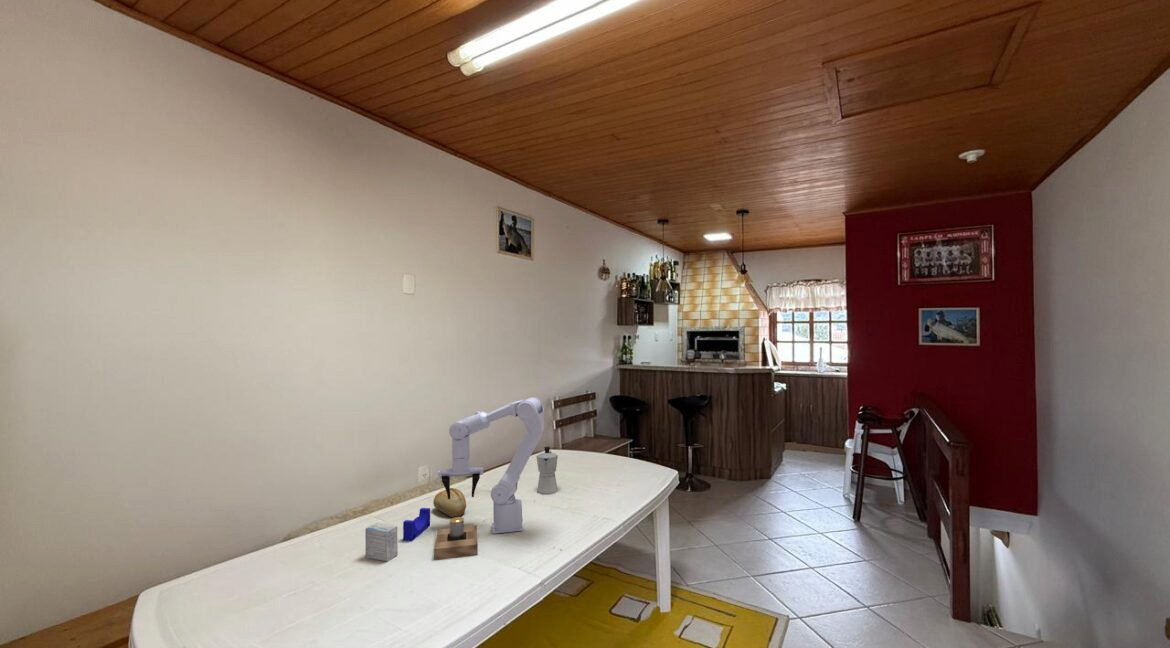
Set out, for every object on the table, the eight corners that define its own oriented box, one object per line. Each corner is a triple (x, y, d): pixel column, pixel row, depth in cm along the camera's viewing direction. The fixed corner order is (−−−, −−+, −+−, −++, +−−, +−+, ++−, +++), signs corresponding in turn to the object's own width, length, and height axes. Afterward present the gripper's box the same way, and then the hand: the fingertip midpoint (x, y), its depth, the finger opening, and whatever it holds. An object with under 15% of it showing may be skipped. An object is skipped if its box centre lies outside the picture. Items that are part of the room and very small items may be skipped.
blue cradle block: (417, 525, 158) (417, 507, 158) (430, 526, 158) (430, 508, 158) (398, 541, 146) (398, 521, 147) (412, 541, 146) (412, 522, 146)
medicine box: (398, 555, 137) (398, 525, 137) (387, 562, 132) (387, 531, 133) (376, 551, 139) (376, 522, 139) (364, 558, 135) (364, 527, 135)
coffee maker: (556, 496, 185) (556, 450, 186) (534, 496, 186) (534, 450, 186) (559, 484, 200) (559, 441, 201) (538, 484, 200) (538, 442, 201)
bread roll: (449, 503, 179) (449, 482, 179) (473, 513, 169) (473, 490, 169) (426, 511, 171) (426, 489, 172) (449, 521, 161) (449, 498, 162)
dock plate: (476, 534, 150) (476, 525, 150) (477, 554, 136) (477, 544, 137) (437, 539, 147) (437, 529, 147) (434, 559, 134) (434, 549, 134)
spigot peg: (462, 542, 145) (462, 516, 145) (464, 547, 141) (464, 520, 141) (449, 544, 143) (449, 518, 143) (450, 550, 140) (450, 523, 140)
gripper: (482, 452, 164) (482, 491, 163) (439, 455, 160) (439, 495, 160) (483, 457, 157) (483, 498, 157) (437, 460, 153) (437, 502, 153)
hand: (461, 497), depth 158 cm, fingers open, 7 cm apart
